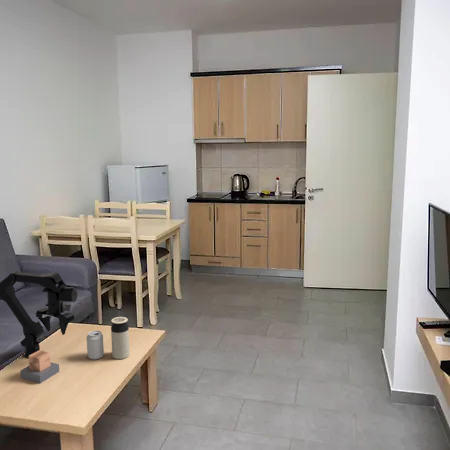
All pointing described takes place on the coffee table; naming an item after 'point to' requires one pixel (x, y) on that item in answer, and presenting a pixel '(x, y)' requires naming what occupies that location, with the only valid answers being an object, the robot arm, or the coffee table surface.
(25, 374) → the charcoal box
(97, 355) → the can
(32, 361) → the terracotta cube
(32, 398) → the coffee table surface
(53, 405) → the coffee table surface
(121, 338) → the travel mug
